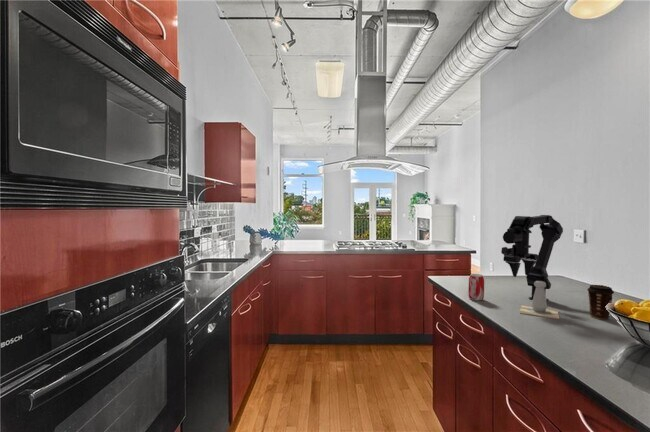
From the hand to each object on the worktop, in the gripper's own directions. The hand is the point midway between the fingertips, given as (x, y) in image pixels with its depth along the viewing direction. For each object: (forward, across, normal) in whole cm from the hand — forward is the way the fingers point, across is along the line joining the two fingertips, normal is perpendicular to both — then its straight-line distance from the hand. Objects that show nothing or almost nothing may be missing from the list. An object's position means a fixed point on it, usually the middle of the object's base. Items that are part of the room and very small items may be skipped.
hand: (520, 275), depth 165 cm
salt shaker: (+13, +6, +12) cm, 18 cm away
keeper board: (+13, +6, +12) cm, 19 cm away
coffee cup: (+13, -10, +28) cm, 33 cm away
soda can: (+13, +13, -14) cm, 23 cm away
